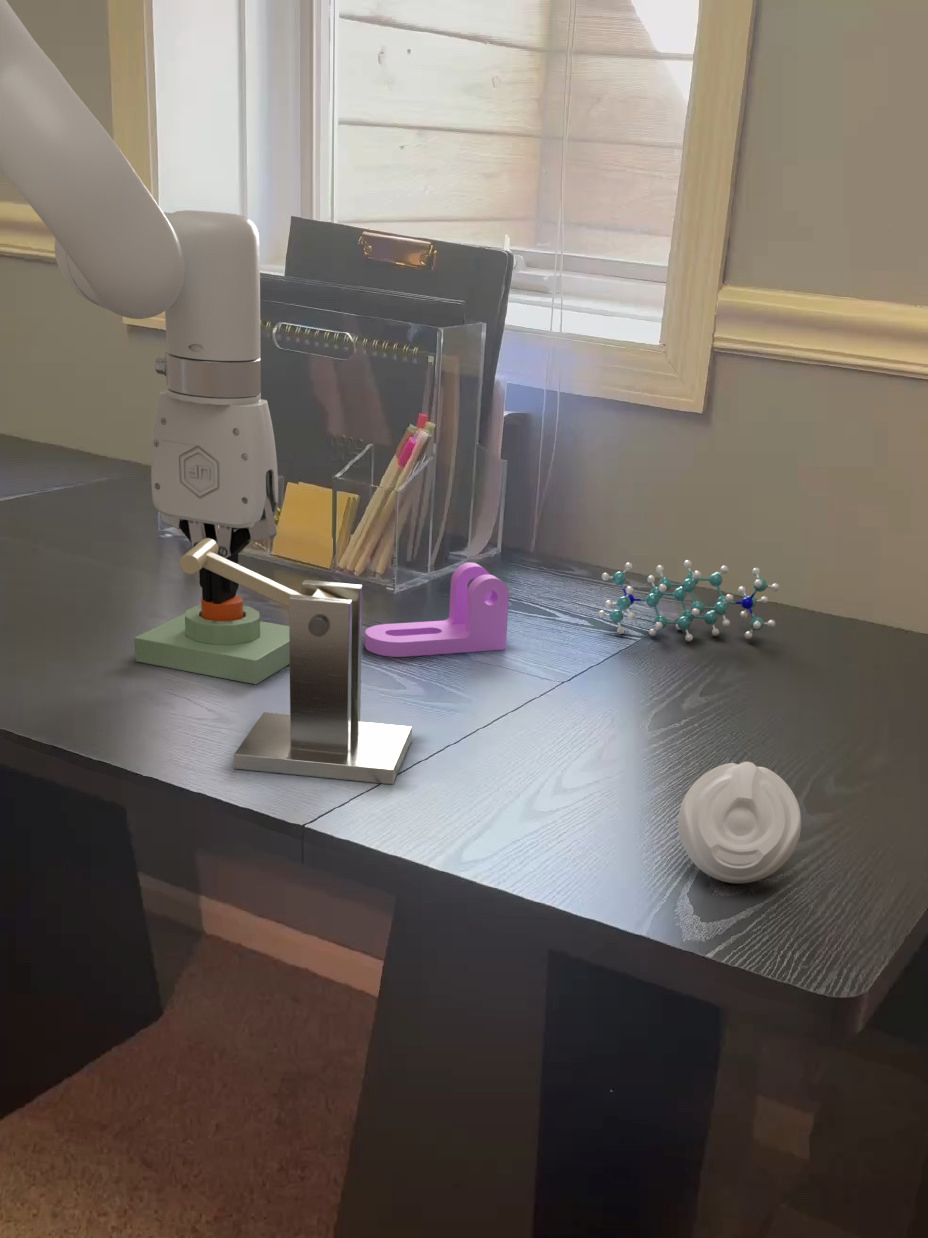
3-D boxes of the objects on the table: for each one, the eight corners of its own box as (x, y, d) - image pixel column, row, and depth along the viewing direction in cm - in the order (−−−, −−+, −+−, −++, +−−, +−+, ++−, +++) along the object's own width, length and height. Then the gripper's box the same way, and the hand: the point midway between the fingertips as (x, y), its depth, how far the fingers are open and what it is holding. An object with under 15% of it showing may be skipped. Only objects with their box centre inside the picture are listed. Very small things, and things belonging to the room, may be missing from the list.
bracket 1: (233, 769, 103) (228, 600, 97) (264, 725, 111) (260, 567, 104) (393, 784, 102) (397, 616, 96) (411, 740, 110) (417, 582, 104)
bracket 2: (483, 631, 136) (487, 561, 133) (505, 649, 132) (510, 577, 128) (357, 640, 131) (358, 567, 128) (376, 658, 127) (377, 584, 123)
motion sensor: (667, 892, 90) (682, 784, 86) (675, 843, 96) (689, 740, 93) (791, 909, 89) (811, 800, 85) (789, 859, 95) (809, 755, 92)
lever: (174, 575, 98) (184, 545, 97) (195, 558, 103) (205, 528, 101) (331, 648, 100) (343, 618, 98) (344, 627, 104) (356, 599, 103)
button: (194, 620, 122) (193, 600, 121) (214, 609, 125) (214, 590, 124) (230, 626, 121) (229, 607, 120) (250, 616, 124) (249, 597, 123)
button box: (135, 661, 122) (132, 617, 120) (194, 631, 130) (192, 589, 128) (256, 684, 119) (255, 640, 117) (308, 652, 127) (308, 610, 125)
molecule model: (591, 620, 142) (598, 550, 138) (758, 626, 144) (769, 557, 140) (604, 646, 135) (611, 573, 131) (779, 651, 137) (791, 579, 133)
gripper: (109, 373, 112) (122, 595, 121) (274, 396, 108) (275, 623, 117) (159, 364, 118) (168, 575, 127) (317, 385, 114) (314, 602, 123)
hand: (219, 598), depth 122 cm, fingers closed
